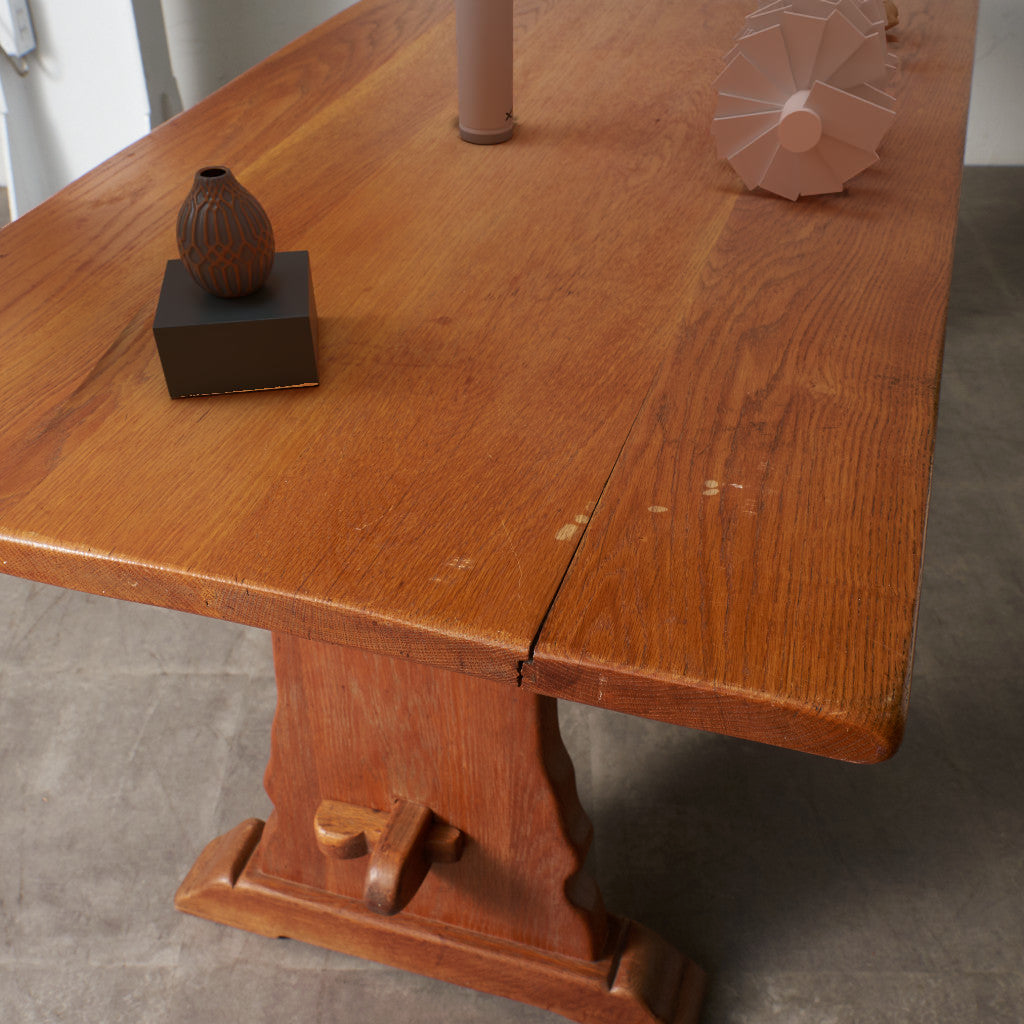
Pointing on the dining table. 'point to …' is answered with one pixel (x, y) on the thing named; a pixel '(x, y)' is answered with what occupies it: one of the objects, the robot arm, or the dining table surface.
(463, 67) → the travel mug
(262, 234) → the vase
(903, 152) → the dining table surface
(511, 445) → the dining table surface
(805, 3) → the spiral staircase
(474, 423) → the dining table surface
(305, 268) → the riser block
